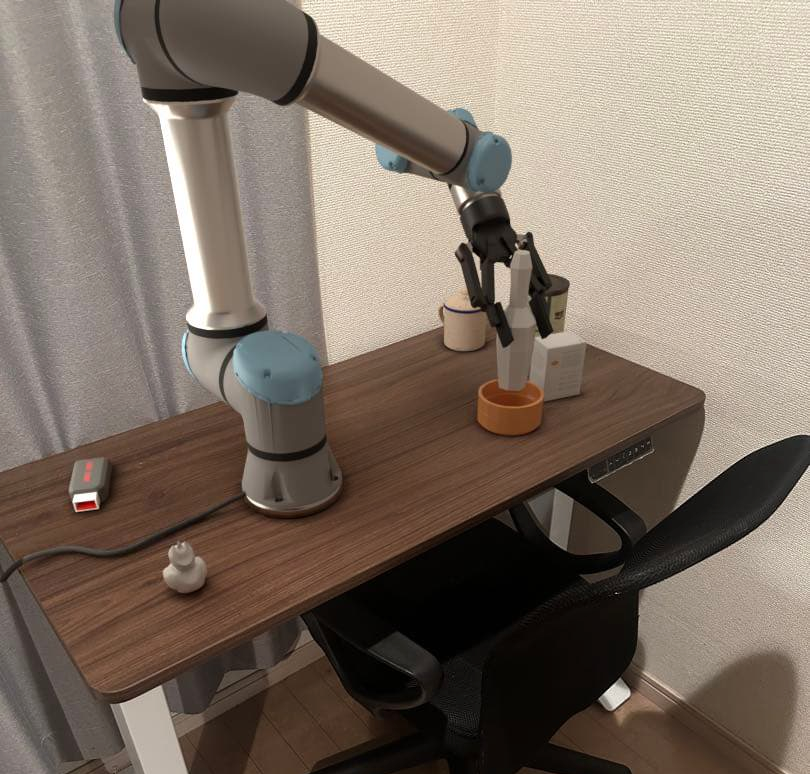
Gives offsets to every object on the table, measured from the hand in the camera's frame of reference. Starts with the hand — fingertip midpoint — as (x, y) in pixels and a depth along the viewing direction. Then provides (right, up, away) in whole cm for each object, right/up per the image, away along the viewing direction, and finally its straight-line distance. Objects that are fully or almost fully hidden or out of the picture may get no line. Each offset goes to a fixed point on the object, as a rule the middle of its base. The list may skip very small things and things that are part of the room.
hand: (528, 339), depth 119 cm
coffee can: (+8, +7, +36) cm, 38 cm away
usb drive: (-68, -24, -3) cm, 72 cm away
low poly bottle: (-1, -6, +8) cm, 10 cm away
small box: (+8, -4, +21) cm, 23 cm away
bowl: (-1, -11, +13) cm, 17 cm away
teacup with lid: (-8, +10, +40) cm, 42 cm away
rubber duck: (-48, -38, -21) cm, 65 cm away
